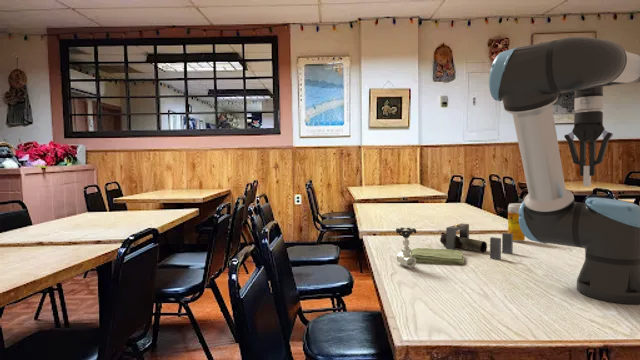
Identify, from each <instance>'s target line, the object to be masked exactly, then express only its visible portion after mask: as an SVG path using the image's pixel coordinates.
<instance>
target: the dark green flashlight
mask: <svg viewBox="0 0 640 360" xmlns="http://www.w3.org/2000/svg"><path fill="white" fill-rule="evenodd" d="M439 242H440V243H441V244H442V246H443V245H444V246H445V247H446V233H442V234H441V235H440V239H439ZM458 249H465V250H468V251H469V250H470V251H474V252H477V253H481V254H483V253H486V252H487V249H488V243H487V242H486V241H484V240H480V239H479V240H477V239H473V238H470V237H469V238H460V236H458V235H457V234H456V250H458Z"/></svg>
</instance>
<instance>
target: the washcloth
mask: <svg viewBox="0 0 640 360" xmlns="http://www.w3.org/2000/svg"><path fill="white" fill-rule="evenodd" d="M410 255H411V256H412V257H413V258H415V259H416V264H431V265H432V264H433V265H436V264H437V265H440V264H441V265H460V266H462V265H464V264H465V256H464V254H463V251H461V250H458V249H456V250H451V249H446V248H441V249H440V248H427V247H426V248H425V247H417V248H411V252H410Z"/></svg>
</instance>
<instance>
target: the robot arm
mask: <svg viewBox="0 0 640 360" xmlns="http://www.w3.org/2000/svg"><path fill="white" fill-rule="evenodd" d="M488 79H489V80H488V87H489V93H490V96H491V97H492V99H493V100H494V101H496V102H497V101H498V102H502V104H503V109H504V111H505V112H507V113H510V114H511V115H512V118H513V123H514V128H515V133H516V139H517V142H518V148H519V152H520V158H521V162H522V168H523V172H524V178H525V182H526V183H525V184H526V187H527V192H528V193H527V194H526V196H525V197H524V199H523V201H522V202H521V203H520V204H521V205H520V208H519V225H520V228H521V231H522V233H523V234H524V236H525V239H527V240H529V241H532V242H537V243H540V244H550V245H557V246H558V245H559V246H566V247H573V248H580V249H582V248H583V249H584V250H585V251H584V252H585V253H584V262H583V264H582V266H581V269H580V271H579V273H578V276H577V278H576V290H577V292H579V293H580V294H583V295H584V296H587V297H590V298H593V299H596V300H599V301H605V302H610V303H617V304H627V305H628V304H629V305H640V205H638V204H636V203H632V202H629V201H624V200H620V199H613V198H612V199H611V198H604V197H588V198H586V200H585V202H580V201H579V202H577V201H575V197H574V193H573V192H572V191H570V189H567V188H566V184H565V177H564V171H563V166H562V159H561V153H560V149H559V147H560V146H559V140H558V135H557V130H556V123H555V116H554V112H553V105H554V104H555V103H556V102H557V101H558V99H559V94H565V93H571V92H572V93H573V92H574V109H573V111H574V114H573V115H574V117H573V123H574V124H573V128H572V129H571V132H569V133H568V134H564V138H565V140H566V141H567V143H568V148H569V151H570V156H571V159H572V162H573V164H575V165H578V166H579V175H580V176H581V177H583V184H582V186H583V187H587V188H588V187H592V177H594V176H595V175H596V166H597V165H600V164H602V163H603V161H604V158H605V155H606V151H607V149H608V148H607V147H608V144H609V141H610V140H611V138H612V137H613V136H614V134H613V133H612V132H609V131H608V130H606V129H605V127H604V120H603V119H604V112H603V109H604V87H610V86H618V85H628V84H636V83H640V53H637V54H636V53H632V52H630V51H629V52H628V51H626V50H625V49H624V47H622V45H621V44H619V43H618V42H615V41H612V40H608V39H602V38H597V37H586V36H572V37H571V36H569V37H563V38H559V39H555V40H549V41H545V42H544V41H543V42H540V43H534V44H529V45H524V46H517V47H514V48H510V49H507V50H504V51H501V52H500V53H498V54H497V55H496V57H494V59H493V61H492V63H491V67H490V70H489V78H488ZM575 137H576V138H577V140H578V141H579V154H578V150H577V147H576V144H575V140H574V139H575ZM600 137H602V141H601V144H600V148H599V150H598V154H597V155H596V152H597V149H596V147H597V140H598V139H599V138H600ZM587 142H588V143H587ZM587 144H589V147H588V148H589V149H588V150H589V151H588V152H589V153H588V154H589V155H588V160H589V161H588V165H587ZM578 155H579V156H578Z"/></svg>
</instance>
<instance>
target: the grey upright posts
mask: <svg viewBox="0 0 640 360" xmlns="http://www.w3.org/2000/svg"><path fill="white" fill-rule="evenodd" d="M445 230H446V231H445V234H446V246H445V247H446V248H445V249H451V250H457V249H456V235H457V232H459V237H460V238H469V239H470V224H469V223H456V224H454V225H451V226H447V227H446V229H445ZM501 234H502V235H501V237H502V238H501V237H494V236H491V237H490V239H489V243H490V244H489V257H490V258H489V259H491V260H492V259H493V260H498V261H499V260H501V259H502V253H503V254H509V255H512V254H513V253H514V252H513V248H514V247H513V244H514V243H513V234H511V233H508V232H503V233H501Z"/></svg>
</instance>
